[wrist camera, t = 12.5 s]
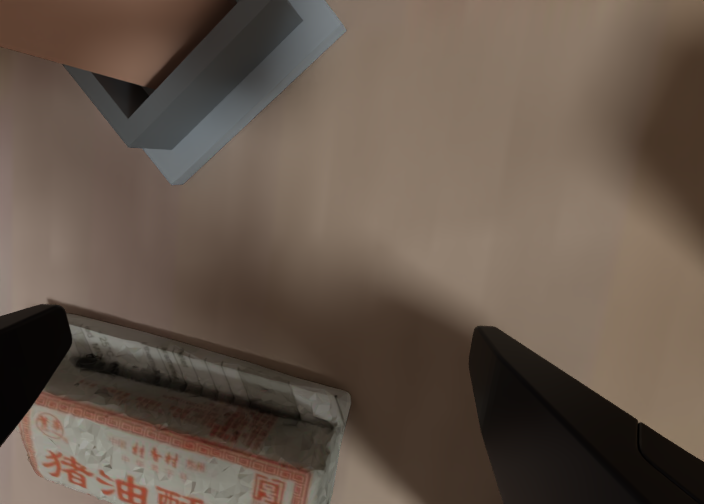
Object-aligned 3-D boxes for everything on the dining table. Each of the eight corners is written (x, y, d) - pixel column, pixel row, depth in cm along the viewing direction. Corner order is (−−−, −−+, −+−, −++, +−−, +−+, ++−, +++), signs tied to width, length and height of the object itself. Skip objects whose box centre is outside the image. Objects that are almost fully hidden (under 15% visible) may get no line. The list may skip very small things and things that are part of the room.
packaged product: (337, 442, 18) (301, 615, 20) (356, 384, 22) (325, 530, 25) (-17, 338, 20) (-12, 502, 22) (67, 305, 25) (63, 445, 27)
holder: (346, 30, 18) (324, -6, 14) (183, 184, 21) (128, 188, 17) (190, -178, 18) (124, -273, 14) (44, 9, 21) (-43, -27, 17)
